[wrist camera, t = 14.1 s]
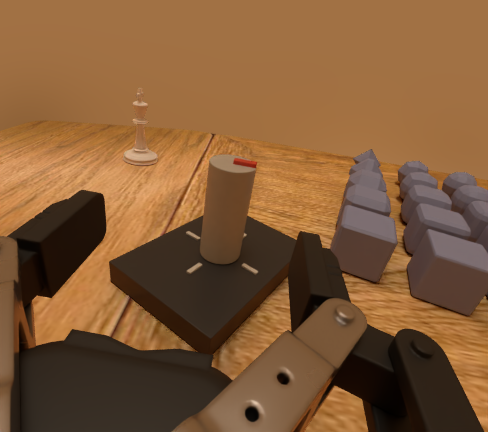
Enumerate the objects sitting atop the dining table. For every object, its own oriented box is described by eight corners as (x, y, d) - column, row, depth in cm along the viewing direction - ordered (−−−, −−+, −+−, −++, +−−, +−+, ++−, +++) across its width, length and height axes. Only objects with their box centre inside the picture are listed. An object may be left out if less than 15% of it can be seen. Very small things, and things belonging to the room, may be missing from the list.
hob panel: (207, 359, 19) (211, 337, 18) (110, 281, 23) (108, 259, 22) (301, 261, 30) (307, 243, 29) (222, 219, 34) (224, 203, 33)
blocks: (325, 266, 30) (341, 224, 27) (349, 167, 58) (358, 142, 56) (818, 441, 21) (906, 402, 19) (561, 224, 50) (582, 198, 47)
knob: (195, 260, 24) (205, 162, 20) (204, 236, 27) (214, 147, 23) (237, 268, 24) (255, 171, 20) (241, 244, 27) (258, 155, 23)
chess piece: (161, 156, 47) (163, 89, 42) (152, 167, 43) (152, 94, 38) (130, 151, 47) (128, 83, 42) (117, 162, 43) (113, 87, 38)
